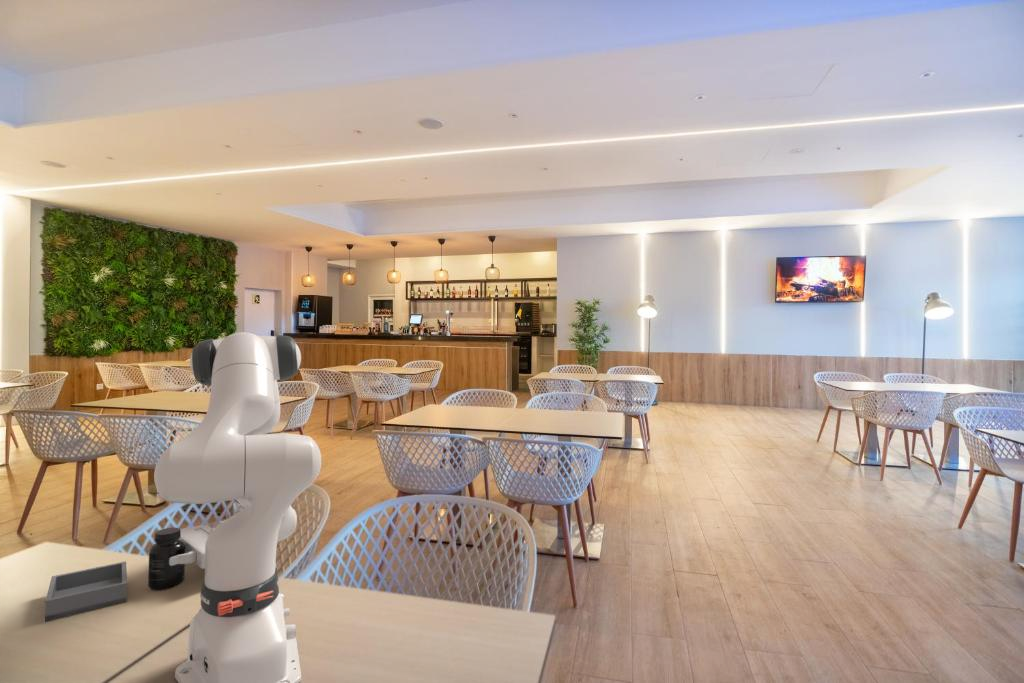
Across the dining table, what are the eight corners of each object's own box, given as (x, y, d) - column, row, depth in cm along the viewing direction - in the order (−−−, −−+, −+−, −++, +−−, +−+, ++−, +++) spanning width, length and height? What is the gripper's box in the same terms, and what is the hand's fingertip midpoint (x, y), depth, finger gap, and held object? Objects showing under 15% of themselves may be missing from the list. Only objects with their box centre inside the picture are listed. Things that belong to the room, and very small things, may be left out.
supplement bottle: (190, 582, 113) (191, 529, 113) (156, 594, 108) (157, 539, 108) (175, 574, 117) (177, 523, 117) (142, 585, 111) (143, 532, 111)
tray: (126, 601, 105) (127, 582, 105) (44, 621, 97) (45, 601, 97) (125, 578, 114) (126, 561, 114) (51, 595, 107) (51, 576, 107)
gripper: (212, 515, 129) (148, 529, 118) (246, 536, 116) (178, 554, 105) (211, 539, 129) (148, 556, 118) (245, 563, 116) (177, 584, 105)
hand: (162, 555), depth 112 cm, fingers closed on supplement bottle, 7 cm apart
